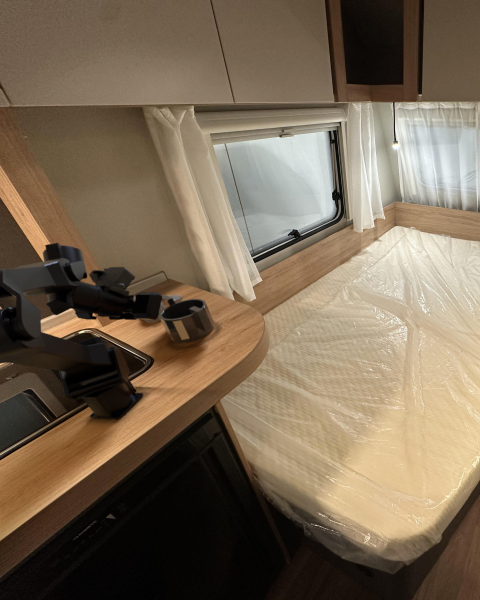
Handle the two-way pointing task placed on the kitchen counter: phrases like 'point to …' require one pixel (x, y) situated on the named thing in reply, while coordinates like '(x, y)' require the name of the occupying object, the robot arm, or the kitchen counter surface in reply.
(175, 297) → the fossilized seashell
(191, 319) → the pot
